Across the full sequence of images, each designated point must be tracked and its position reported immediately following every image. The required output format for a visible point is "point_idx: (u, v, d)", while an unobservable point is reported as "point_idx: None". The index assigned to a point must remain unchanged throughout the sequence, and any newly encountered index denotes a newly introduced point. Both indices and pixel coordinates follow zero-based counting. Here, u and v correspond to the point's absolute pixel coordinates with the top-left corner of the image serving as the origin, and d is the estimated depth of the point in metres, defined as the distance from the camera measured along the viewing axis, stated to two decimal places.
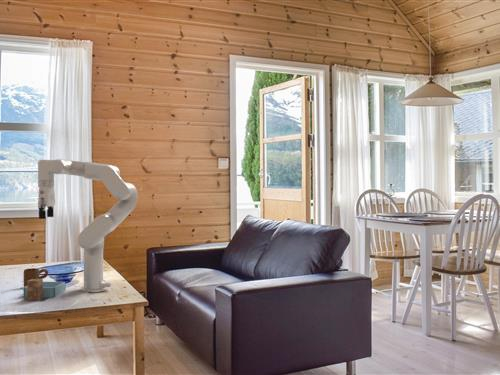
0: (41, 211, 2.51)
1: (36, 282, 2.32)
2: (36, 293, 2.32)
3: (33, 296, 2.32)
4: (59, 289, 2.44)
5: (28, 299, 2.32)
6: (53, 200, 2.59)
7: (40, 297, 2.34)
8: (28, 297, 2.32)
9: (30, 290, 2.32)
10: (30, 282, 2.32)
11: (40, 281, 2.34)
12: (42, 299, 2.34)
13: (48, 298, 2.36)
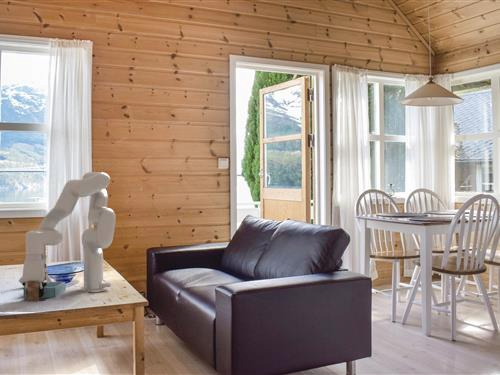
0: (43, 288, 2.34)
1: (36, 282, 2.32)
2: (36, 293, 2.32)
3: (33, 296, 2.32)
4: (59, 289, 2.44)
5: (28, 299, 2.32)
6: None
7: (40, 297, 2.34)
8: (28, 297, 2.32)
9: (30, 290, 2.32)
10: (30, 282, 2.32)
11: None
12: (42, 299, 2.34)
13: (48, 298, 2.36)
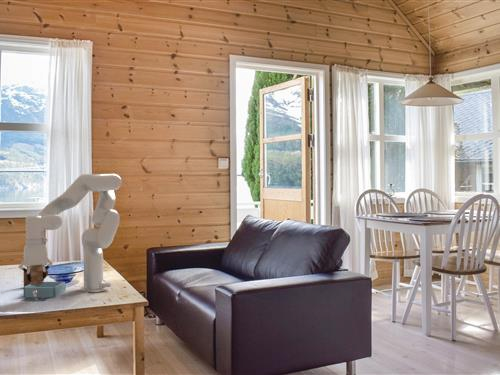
0: None
1: (40, 266, 2.33)
2: (41, 277, 2.33)
3: (37, 281, 2.33)
4: (59, 289, 2.44)
5: (32, 284, 2.32)
6: None
7: None
8: (32, 282, 2.31)
9: (34, 275, 2.32)
10: (34, 267, 2.32)
11: None
12: (42, 299, 2.34)
13: (48, 298, 2.36)
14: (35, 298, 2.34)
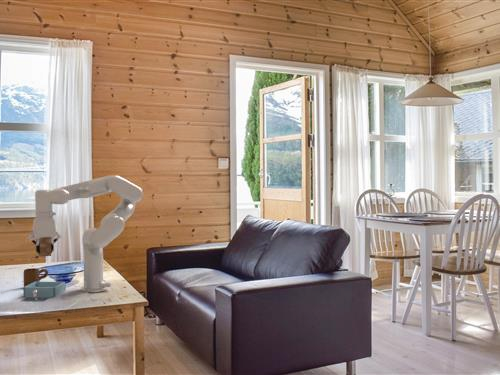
0: None
1: (49, 238, 2.43)
2: (49, 249, 2.43)
3: (46, 252, 2.42)
4: (59, 289, 2.44)
5: (41, 255, 2.41)
6: None
7: None
8: (41, 253, 2.41)
9: (43, 246, 2.42)
10: (43, 239, 2.42)
11: None
12: (42, 299, 2.34)
13: (48, 298, 2.36)
14: (35, 298, 2.34)
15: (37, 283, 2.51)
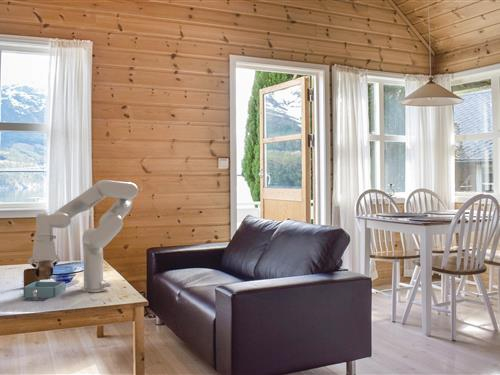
0: None
1: (49, 261, 2.44)
2: (48, 272, 2.44)
3: (45, 275, 2.43)
4: (59, 289, 2.44)
5: (40, 278, 2.42)
6: None
7: None
8: (40, 277, 2.42)
9: (42, 270, 2.42)
10: (42, 262, 2.42)
11: None
12: (42, 299, 2.34)
13: (48, 298, 2.36)
14: (35, 298, 2.34)
15: (37, 283, 2.51)
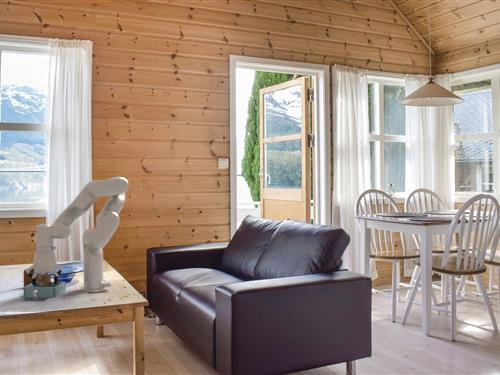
0: None
1: (49, 277, 2.44)
2: None
3: None
4: (59, 289, 2.44)
5: None
6: None
7: None
8: None
9: (43, 285, 2.43)
10: (43, 278, 2.43)
11: None
12: (42, 299, 2.34)
13: (48, 298, 2.36)
14: (35, 298, 2.34)
15: (37, 283, 2.51)
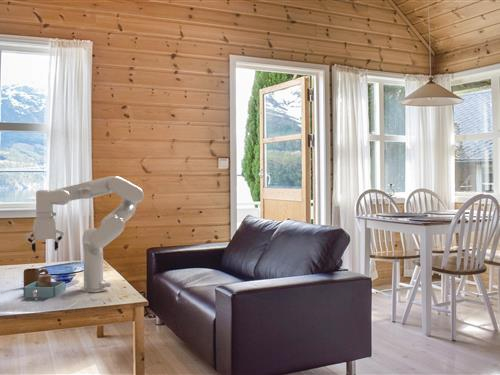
0: None
1: (49, 277, 2.44)
2: None
3: None
4: (59, 289, 2.44)
5: None
6: None
7: None
8: None
9: (43, 285, 2.43)
10: (43, 278, 2.43)
11: None
12: (42, 299, 2.34)
13: (48, 298, 2.36)
14: (35, 298, 2.34)
15: (37, 283, 2.51)
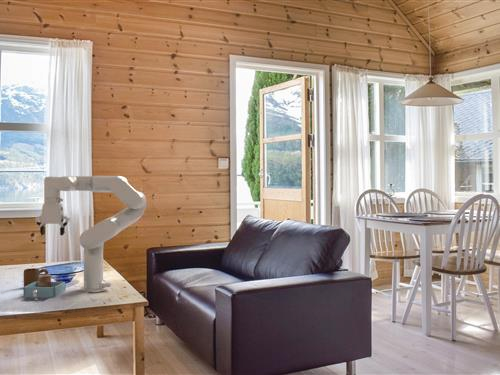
0: (64, 227, 2.55)
1: (49, 277, 2.44)
2: None
3: None
4: (59, 289, 2.44)
5: None
6: None
7: None
8: None
9: (43, 285, 2.43)
10: (43, 278, 2.43)
11: None
12: (42, 299, 2.34)
13: (48, 298, 2.36)
14: (35, 298, 2.34)
15: (37, 283, 2.51)
